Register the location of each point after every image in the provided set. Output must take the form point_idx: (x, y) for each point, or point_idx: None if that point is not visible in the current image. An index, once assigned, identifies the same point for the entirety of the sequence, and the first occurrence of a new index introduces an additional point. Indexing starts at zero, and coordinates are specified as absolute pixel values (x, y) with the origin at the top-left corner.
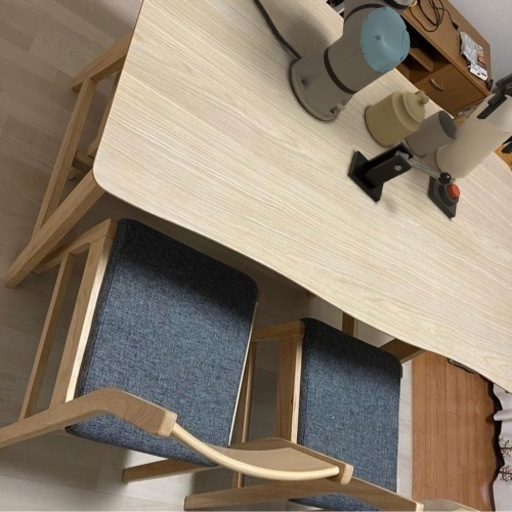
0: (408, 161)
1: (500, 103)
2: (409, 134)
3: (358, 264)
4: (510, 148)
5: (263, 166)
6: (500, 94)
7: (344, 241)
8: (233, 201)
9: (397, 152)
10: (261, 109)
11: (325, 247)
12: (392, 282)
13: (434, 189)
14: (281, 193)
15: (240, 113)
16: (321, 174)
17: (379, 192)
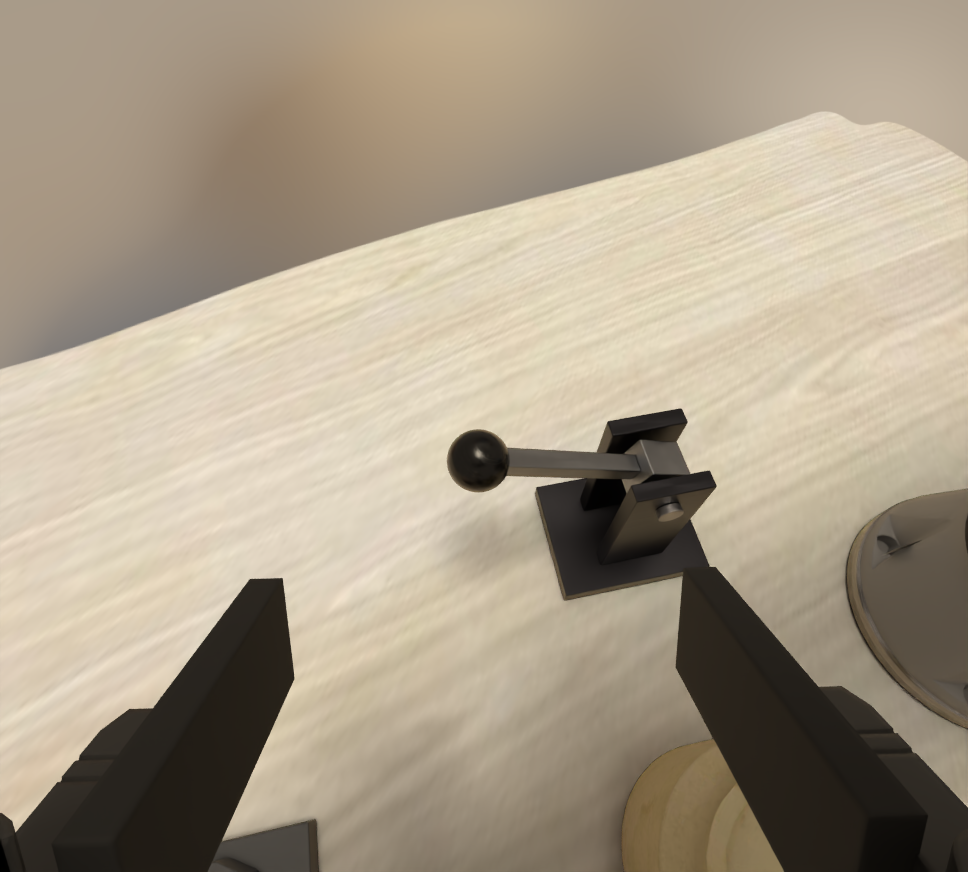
0: (631, 459)
1: (809, 709)
2: (658, 798)
3: (491, 299)
4: (270, 606)
5: (808, 277)
6: (956, 823)
7: (554, 311)
8: (778, 190)
9: (684, 461)
10: (938, 373)
11: (585, 264)
12: (374, 342)
13: (305, 862)
14: (738, 268)
15: (940, 319)
16: (716, 390)
17: (553, 510)
